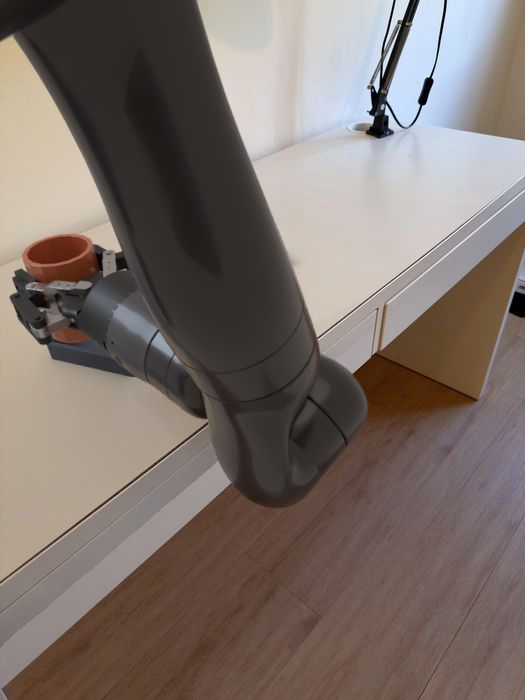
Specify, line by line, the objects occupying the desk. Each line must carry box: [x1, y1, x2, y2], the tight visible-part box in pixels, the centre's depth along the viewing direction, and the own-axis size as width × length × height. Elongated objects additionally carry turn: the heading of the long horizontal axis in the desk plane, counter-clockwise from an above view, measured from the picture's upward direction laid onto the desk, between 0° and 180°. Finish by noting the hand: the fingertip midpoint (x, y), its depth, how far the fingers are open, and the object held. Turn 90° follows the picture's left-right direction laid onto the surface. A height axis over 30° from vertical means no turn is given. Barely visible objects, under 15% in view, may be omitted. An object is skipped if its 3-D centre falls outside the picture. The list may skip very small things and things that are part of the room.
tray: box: [46, 338, 135, 377], centre depth 72 cm, size 15×12×3 cm
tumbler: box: [21, 233, 101, 343], centre depth 54 cm, size 7×7×9 cm
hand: (53, 264), depth 54 cm, fingers closed on tumbler, 6 cm apart
